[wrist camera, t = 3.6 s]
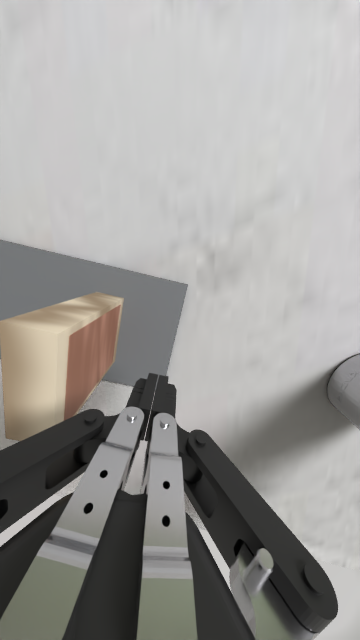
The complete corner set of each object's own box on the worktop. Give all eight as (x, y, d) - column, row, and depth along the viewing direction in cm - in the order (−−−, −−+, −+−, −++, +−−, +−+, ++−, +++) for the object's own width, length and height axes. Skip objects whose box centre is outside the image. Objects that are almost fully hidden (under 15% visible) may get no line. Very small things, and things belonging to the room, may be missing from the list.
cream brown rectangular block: (124, 298, 20) (58, 334, 9) (115, 361, 22) (54, 447, 12) (96, 291, 20) (-2, 321, 9) (90, 356, 22) (5, 438, 12)
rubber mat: (187, 284, 20) (187, 285, 19) (162, 389, 24) (161, 392, 23) (-19, 235, 19) (-24, 234, 18) (-10, 353, 23) (-14, 355, 22)
